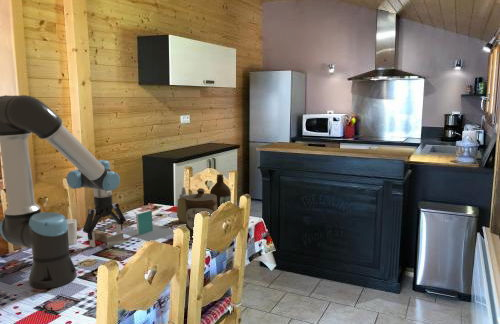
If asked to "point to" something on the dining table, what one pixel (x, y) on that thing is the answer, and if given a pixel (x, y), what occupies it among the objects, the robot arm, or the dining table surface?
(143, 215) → the tile
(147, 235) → the slate mat
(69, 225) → the white cup
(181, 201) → the squeeze bottle
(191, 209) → the wooden container
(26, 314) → the dining table surface
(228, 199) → the olive oil
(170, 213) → the dining table surface
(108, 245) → the brown rectangular box
